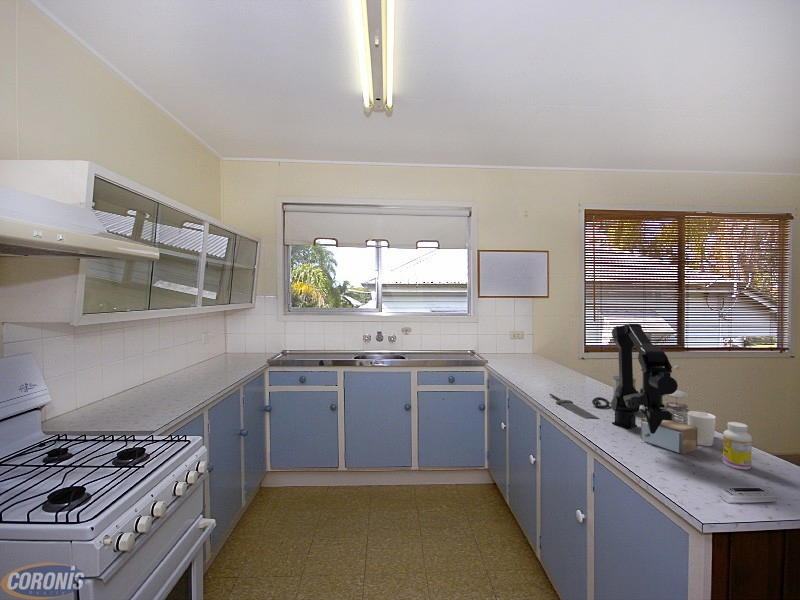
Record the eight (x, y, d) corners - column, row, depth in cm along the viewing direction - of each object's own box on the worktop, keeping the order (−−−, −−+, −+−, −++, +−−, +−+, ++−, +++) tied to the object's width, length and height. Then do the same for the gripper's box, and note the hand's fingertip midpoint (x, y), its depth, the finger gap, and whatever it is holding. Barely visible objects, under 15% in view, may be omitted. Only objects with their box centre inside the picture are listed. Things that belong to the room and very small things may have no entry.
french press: (697, 435, 144) (698, 368, 143) (662, 432, 146) (663, 367, 145) (683, 426, 153) (684, 363, 153) (651, 424, 156) (652, 362, 155)
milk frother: (640, 414, 168) (641, 380, 168) (604, 414, 169) (604, 380, 168) (622, 404, 182) (622, 373, 182) (588, 404, 183) (589, 373, 183)
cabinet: (641, 439, 140) (641, 418, 140) (655, 435, 143) (655, 415, 143) (682, 453, 127) (683, 431, 127) (697, 449, 131) (697, 427, 130)
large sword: (585, 422, 161) (585, 417, 161) (543, 396, 196) (543, 392, 196) (601, 421, 162) (601, 416, 162) (556, 395, 197) (556, 392, 197)
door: (640, 440, 137) (640, 421, 137) (643, 439, 138) (644, 420, 138) (680, 454, 126) (680, 433, 126) (683, 453, 127) (684, 432, 127)
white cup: (703, 448, 132) (704, 419, 132) (681, 439, 140) (681, 412, 139) (720, 445, 134) (721, 417, 134) (698, 437, 142) (698, 410, 141)
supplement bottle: (722, 458, 124) (723, 419, 123) (750, 464, 119) (751, 423, 119) (722, 466, 118) (723, 424, 118) (752, 472, 114) (752, 429, 114)
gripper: (619, 380, 142) (619, 422, 142) (632, 391, 124) (632, 440, 124) (654, 382, 138) (654, 425, 138) (673, 394, 121) (672, 444, 121)
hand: (652, 433), depth 131 cm, fingers closed
